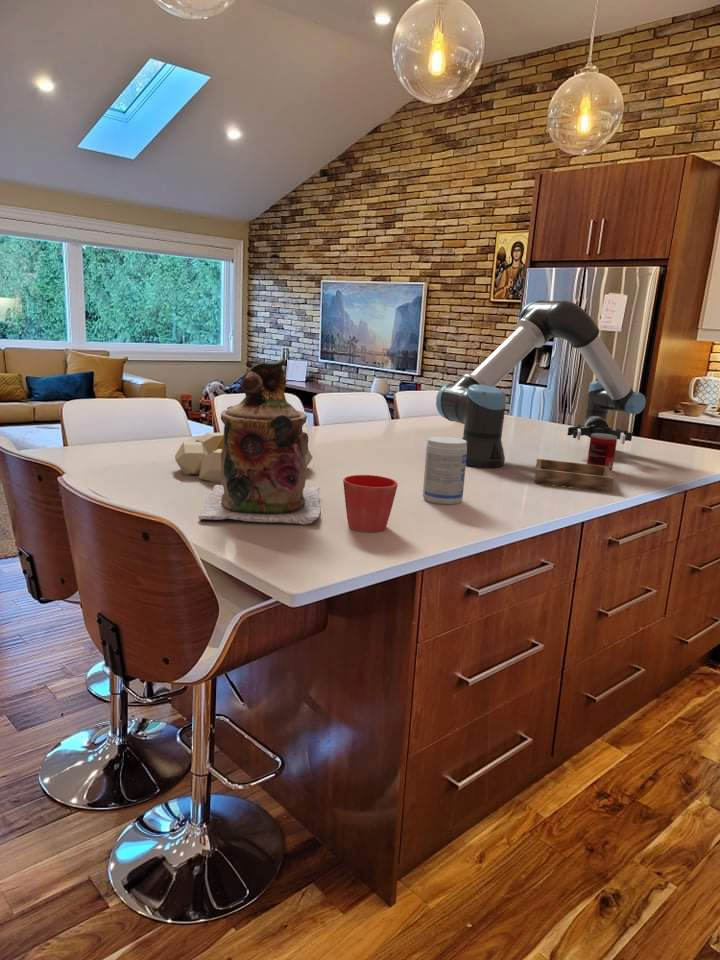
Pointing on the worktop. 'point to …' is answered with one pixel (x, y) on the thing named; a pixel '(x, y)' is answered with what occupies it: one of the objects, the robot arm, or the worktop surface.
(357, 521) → the flower pot
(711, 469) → the worktop surface
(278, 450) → the cookie jar
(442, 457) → the supplement tub
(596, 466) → the crate
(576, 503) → the worktop surface
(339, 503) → the worktop surface
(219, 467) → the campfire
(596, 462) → the canned food
